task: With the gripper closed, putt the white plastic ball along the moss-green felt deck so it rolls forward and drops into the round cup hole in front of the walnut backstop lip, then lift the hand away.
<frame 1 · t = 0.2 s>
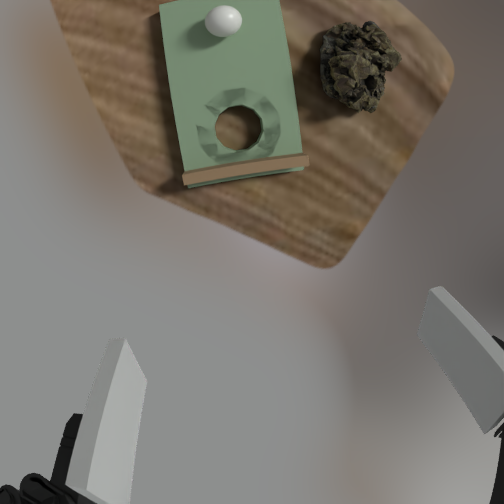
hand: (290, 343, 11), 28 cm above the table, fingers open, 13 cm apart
green: (230, 81, 30), on the table
ball: (223, 21, 24), point 4 cm above the table, touching green
rock: (351, 67, 31), on the table
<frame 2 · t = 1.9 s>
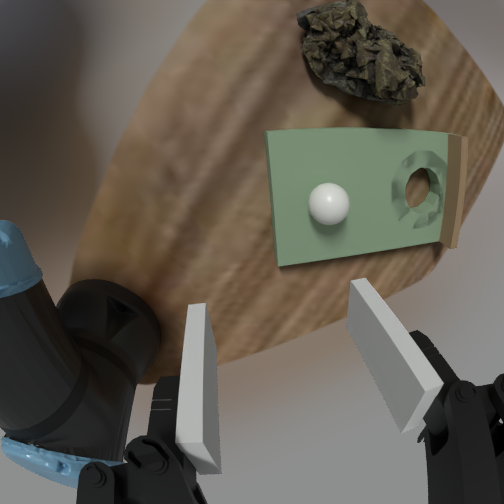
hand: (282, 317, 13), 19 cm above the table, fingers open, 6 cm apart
green: (373, 188, 31), on the table
ball: (329, 203, 27), point 4 cm above the table, touching green
rock: (352, 54, 24), on the table
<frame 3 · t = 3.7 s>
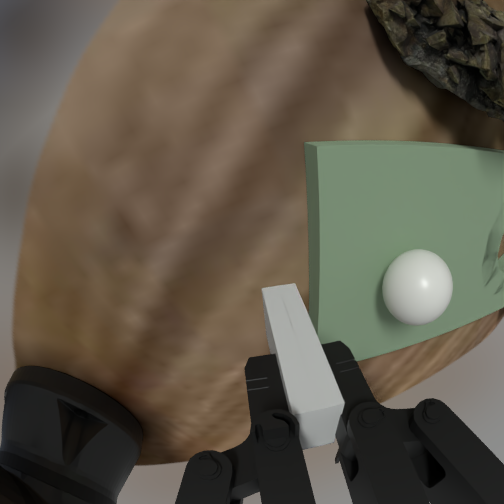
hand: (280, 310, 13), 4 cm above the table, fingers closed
green: (458, 240, 17), on the table
ball: (417, 287, 13), point 4 cm above the table, touching green
rock: (437, 28, 11), on the table
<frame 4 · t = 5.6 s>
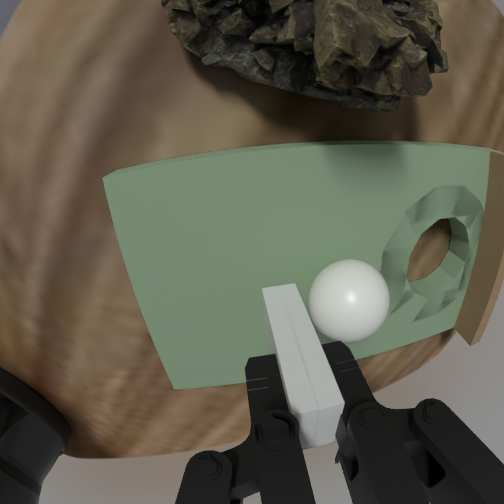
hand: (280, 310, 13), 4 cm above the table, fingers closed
green: (347, 259, 17), on the table
ball: (349, 301, 13), point 4 cm above the table, tilted 153°, touching green
rock: (290, 8, 11), on the table
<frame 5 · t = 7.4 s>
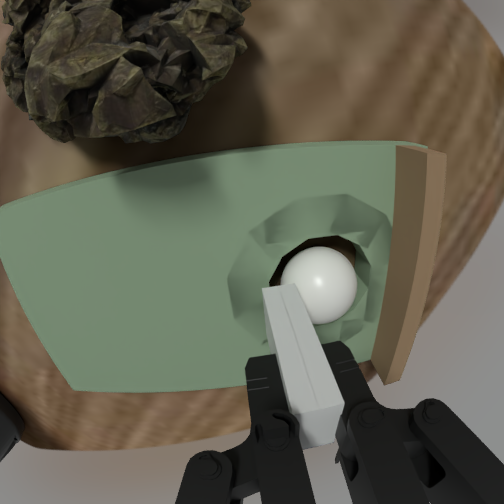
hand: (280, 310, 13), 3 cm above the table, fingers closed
green: (206, 282, 16), on the table
ball: (319, 285, 15), point 2 cm above the table, tilted 31°, touching gripper
rock: (117, 37, 10), on the table
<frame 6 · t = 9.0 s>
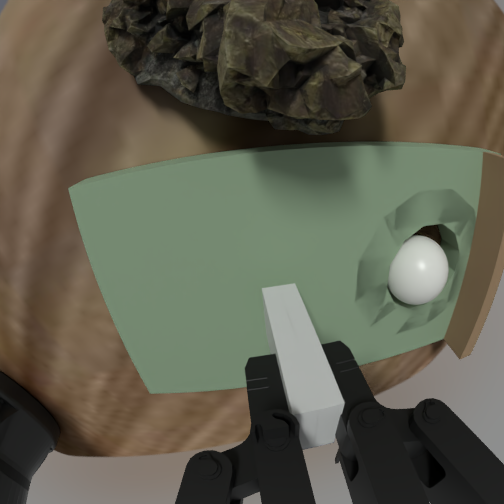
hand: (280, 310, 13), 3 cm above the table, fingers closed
green: (323, 267, 16), on the table
ball: (416, 270, 15), point 2 cm above the table, tilted 14°
rock: (241, 18, 11), on the table
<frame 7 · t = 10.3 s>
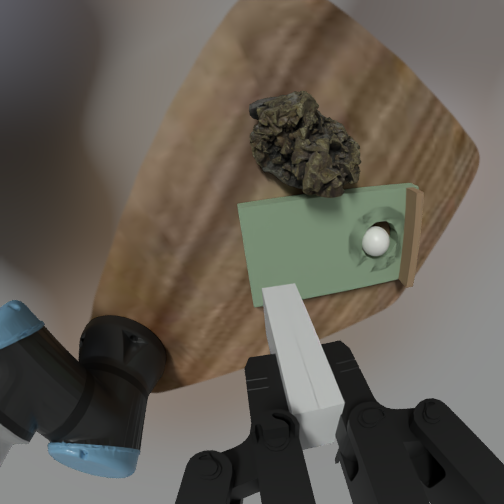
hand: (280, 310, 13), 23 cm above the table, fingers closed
green: (334, 241, 38), on the table
ball: (375, 241, 36), point 2 cm above the table, tilted 14°
rock: (300, 140, 32), on the table
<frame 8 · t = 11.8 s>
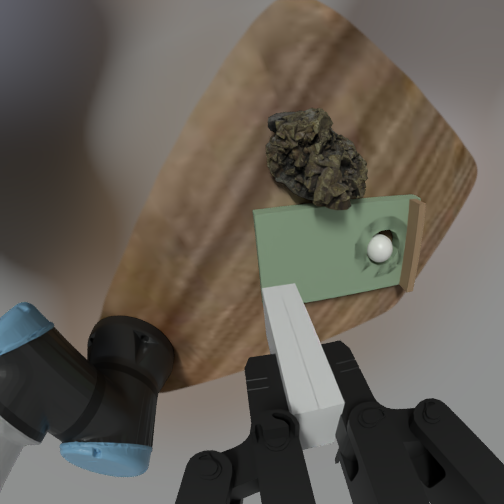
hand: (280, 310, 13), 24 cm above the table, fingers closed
green: (341, 247, 40), on the table
ball: (379, 248, 39), point 2 cm above the table, tilted 14°
rock: (311, 154, 35), on the table
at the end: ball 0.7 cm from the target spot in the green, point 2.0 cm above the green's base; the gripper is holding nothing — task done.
